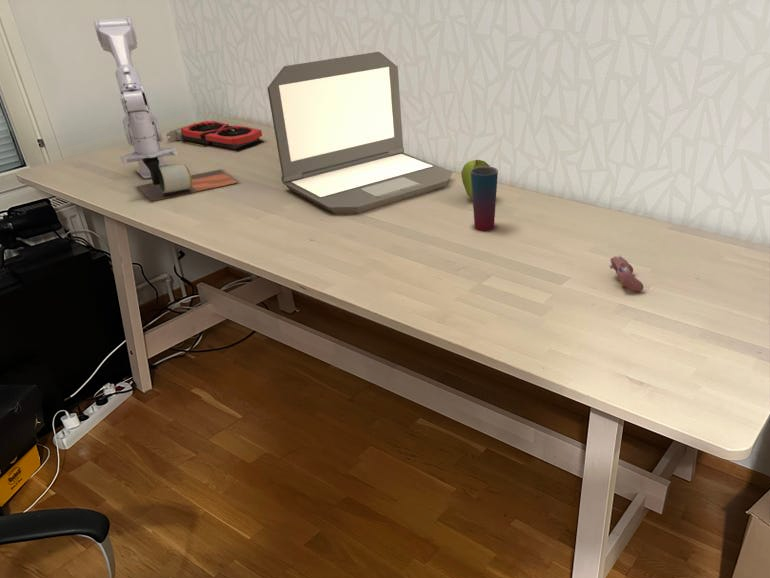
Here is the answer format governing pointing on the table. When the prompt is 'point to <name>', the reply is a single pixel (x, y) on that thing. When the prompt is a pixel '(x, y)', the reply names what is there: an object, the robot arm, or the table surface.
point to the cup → (484, 196)
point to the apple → (467, 174)
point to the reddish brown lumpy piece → (625, 274)
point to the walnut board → (198, 184)
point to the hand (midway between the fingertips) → (156, 183)
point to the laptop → (346, 134)
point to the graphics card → (217, 135)
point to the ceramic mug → (174, 178)
